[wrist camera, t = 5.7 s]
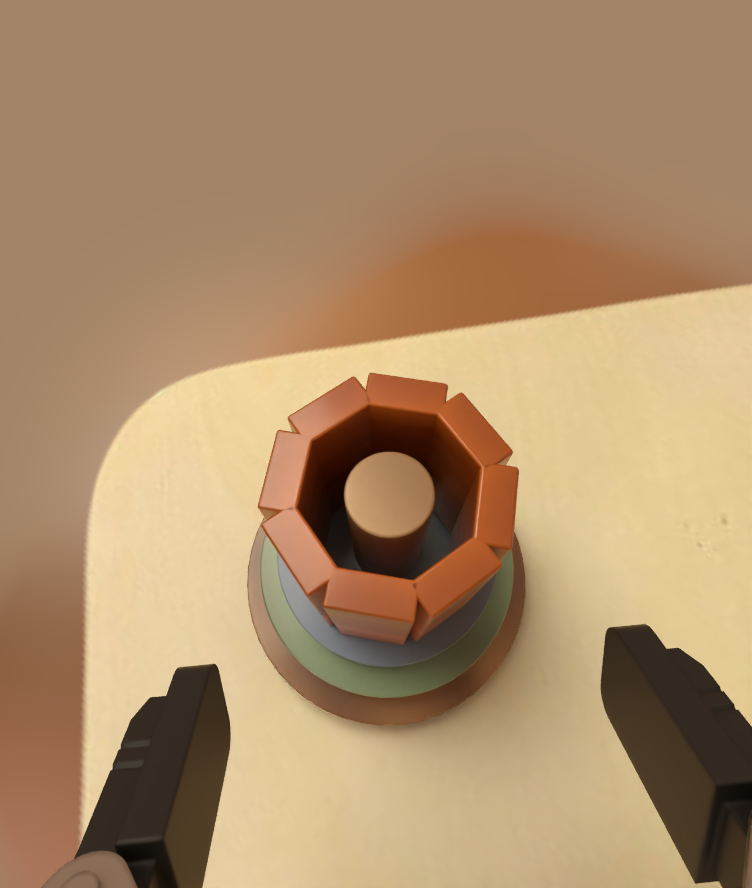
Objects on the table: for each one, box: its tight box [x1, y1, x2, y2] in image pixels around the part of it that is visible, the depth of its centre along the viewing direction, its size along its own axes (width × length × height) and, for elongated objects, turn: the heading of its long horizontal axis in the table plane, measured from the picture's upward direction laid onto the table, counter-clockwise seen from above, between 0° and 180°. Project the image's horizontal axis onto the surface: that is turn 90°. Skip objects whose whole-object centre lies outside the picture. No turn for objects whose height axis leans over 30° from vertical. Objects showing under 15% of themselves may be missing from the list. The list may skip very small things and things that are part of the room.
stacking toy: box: [247, 452, 525, 725], centre depth 21 cm, size 12×12×12 cm
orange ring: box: [258, 373, 519, 645], centre depth 18 cm, size 6×6×7 cm
